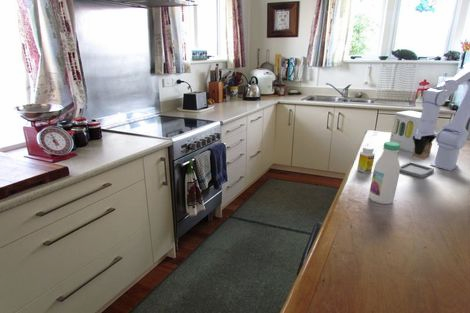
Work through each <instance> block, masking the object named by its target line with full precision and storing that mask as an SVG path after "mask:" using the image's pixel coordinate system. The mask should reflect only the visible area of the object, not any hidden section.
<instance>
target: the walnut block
mask: <svg viewBox="0 0 470 313" xmlns="http://www.w3.org/2000/svg"><path fill="white" fill-rule="evenodd" d="M432 147H433V142H432V143H429V142H427V144H426V145H425V147H424V150H423V152H422V154H421V155H418V154H415V148H414V152H412V157H414V158H417V159H421V160H426V159H429V157H430V153H431V151H432Z"/></svg>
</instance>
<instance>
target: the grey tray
mask: <svg viewBox="0 0 470 313" xmlns="http://www.w3.org/2000/svg"><path fill="white" fill-rule="evenodd" d="M434 171H435V168H433V167H430V166H426V165H424V164H423V165H422V164H419V163H416V162H412V161H407V162H405V163H404V164H400V174H401V173H402V174H404V175H407V176H410V177H414V178H417V179H421V180H423V179H424V178H426V177H427V176H429V175H431V174H432V173H434Z"/></svg>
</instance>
